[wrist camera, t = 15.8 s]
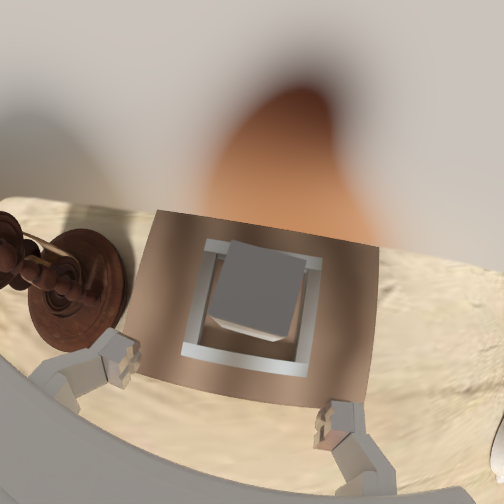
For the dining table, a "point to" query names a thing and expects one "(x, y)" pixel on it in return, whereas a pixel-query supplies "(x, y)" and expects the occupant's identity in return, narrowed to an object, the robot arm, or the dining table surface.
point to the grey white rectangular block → (257, 291)
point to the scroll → (65, 282)
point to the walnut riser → (245, 346)
